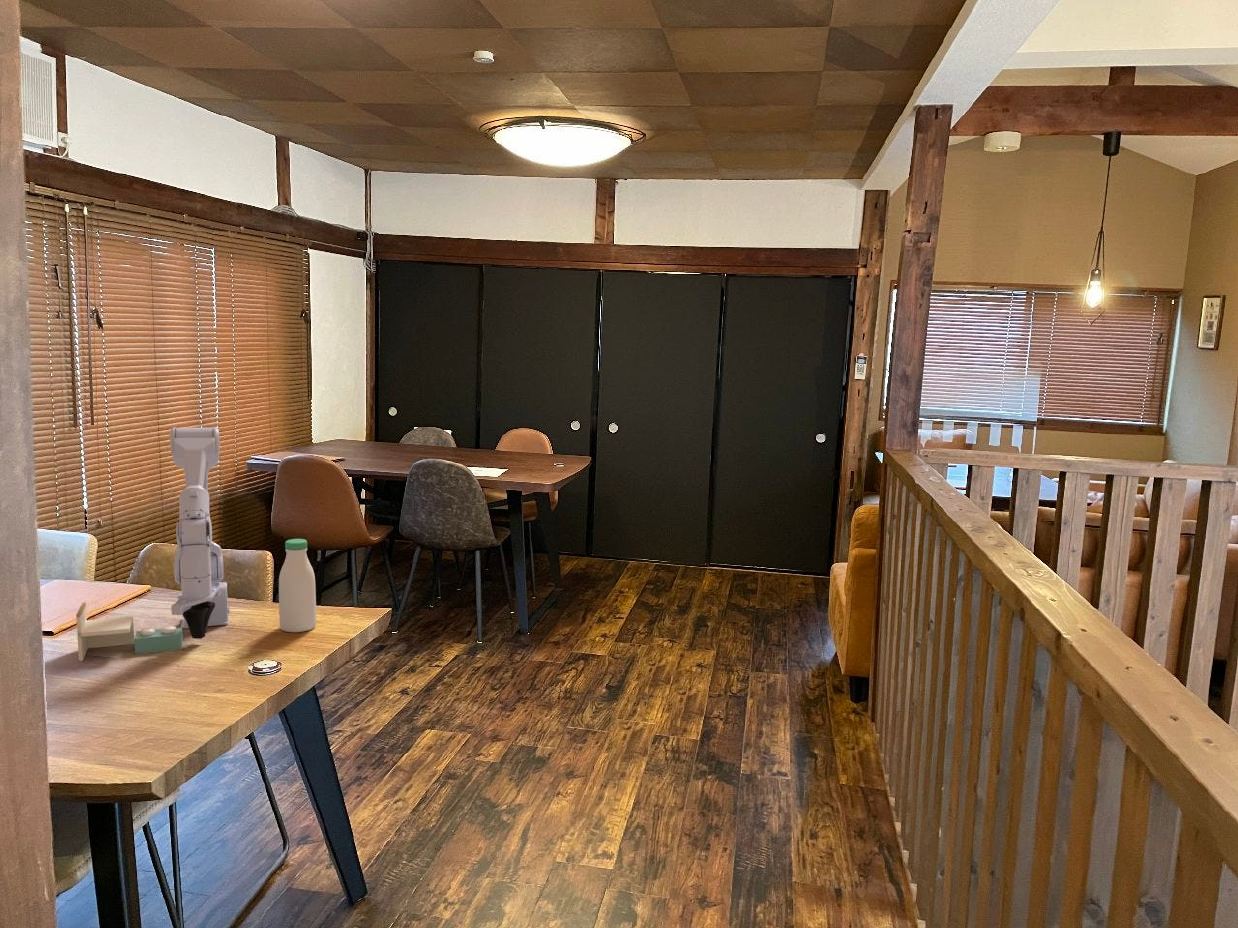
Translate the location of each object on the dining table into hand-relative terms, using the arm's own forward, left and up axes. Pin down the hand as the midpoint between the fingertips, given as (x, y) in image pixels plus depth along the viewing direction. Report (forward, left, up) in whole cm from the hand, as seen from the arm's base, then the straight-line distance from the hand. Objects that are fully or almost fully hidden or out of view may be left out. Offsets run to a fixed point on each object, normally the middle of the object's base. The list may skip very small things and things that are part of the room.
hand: (198, 637), depth 190 cm
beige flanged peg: (+17, 0, -1) cm, 17 cm away
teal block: (+7, 0, -2) cm, 8 cm away
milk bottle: (-20, -4, -2) cm, 21 cm away
